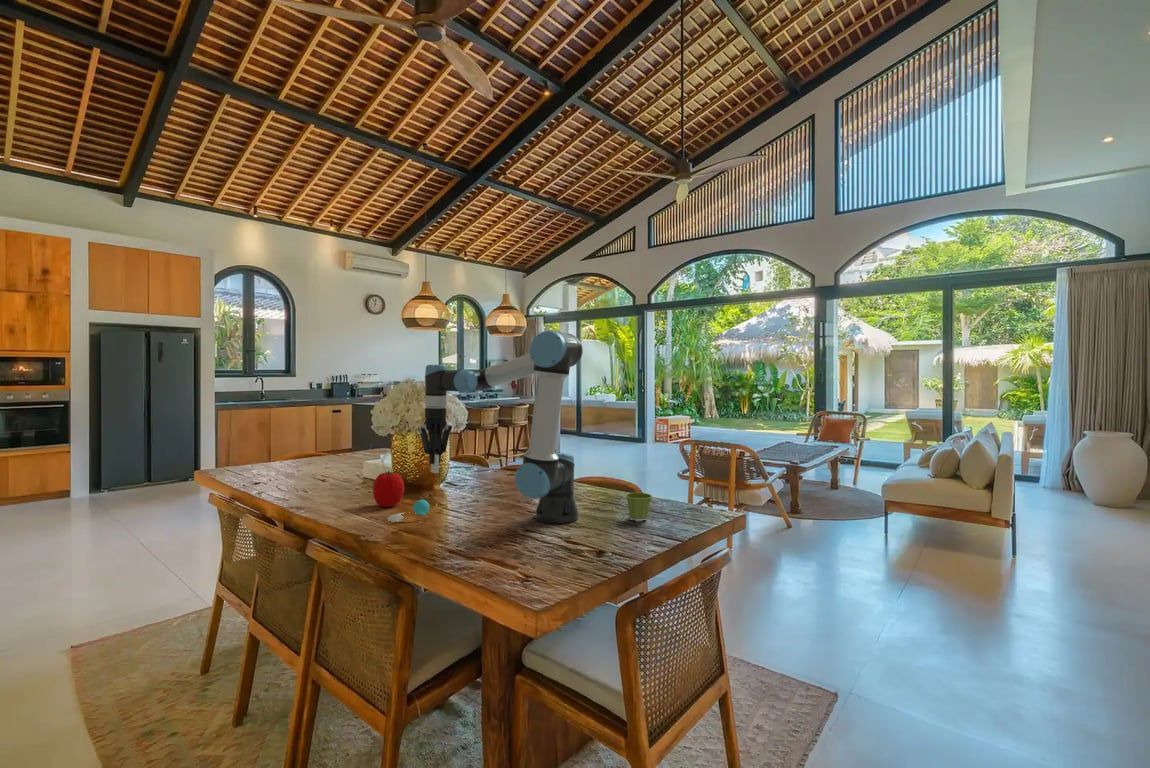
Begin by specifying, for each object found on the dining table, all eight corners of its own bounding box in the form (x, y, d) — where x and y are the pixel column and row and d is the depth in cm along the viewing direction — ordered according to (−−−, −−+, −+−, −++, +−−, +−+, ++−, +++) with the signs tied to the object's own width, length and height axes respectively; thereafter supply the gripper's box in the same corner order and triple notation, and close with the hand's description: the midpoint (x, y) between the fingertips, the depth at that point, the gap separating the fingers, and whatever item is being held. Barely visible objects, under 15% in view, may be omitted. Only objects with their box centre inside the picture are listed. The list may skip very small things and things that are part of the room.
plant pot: (624, 523, 182) (624, 497, 182) (625, 515, 192) (625, 491, 191) (652, 524, 181) (652, 499, 181) (651, 517, 191) (651, 492, 190)
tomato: (364, 508, 197) (364, 472, 196) (388, 501, 208) (388, 467, 208) (389, 511, 192) (389, 475, 192) (411, 504, 203) (412, 469, 203)
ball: (422, 496, 186) (411, 509, 184) (434, 506, 188) (423, 519, 185) (419, 496, 191) (408, 508, 188) (430, 505, 192) (419, 518, 190)
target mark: (433, 514, 189) (433, 513, 189) (413, 524, 177) (413, 523, 177) (400, 511, 192) (400, 511, 192) (379, 521, 180) (379, 520, 180)
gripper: (445, 406, 199) (444, 469, 200) (413, 407, 190) (413, 473, 190) (456, 407, 194) (456, 471, 194) (425, 408, 184) (424, 476, 185)
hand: (434, 472), depth 192 cm, fingers closed
